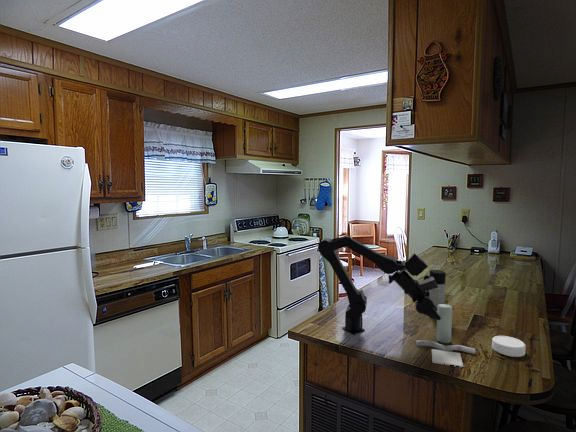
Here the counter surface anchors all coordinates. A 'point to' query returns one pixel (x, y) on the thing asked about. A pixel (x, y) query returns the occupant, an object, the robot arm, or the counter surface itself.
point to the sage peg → (444, 323)
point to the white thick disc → (508, 346)
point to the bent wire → (445, 348)
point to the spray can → (438, 292)
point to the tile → (446, 358)
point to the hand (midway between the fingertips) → (438, 314)
